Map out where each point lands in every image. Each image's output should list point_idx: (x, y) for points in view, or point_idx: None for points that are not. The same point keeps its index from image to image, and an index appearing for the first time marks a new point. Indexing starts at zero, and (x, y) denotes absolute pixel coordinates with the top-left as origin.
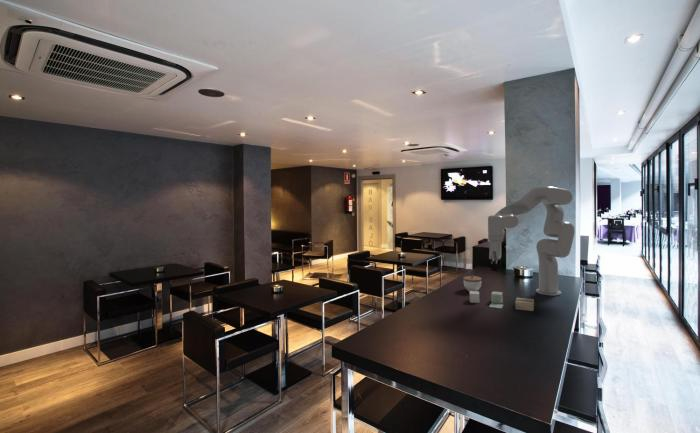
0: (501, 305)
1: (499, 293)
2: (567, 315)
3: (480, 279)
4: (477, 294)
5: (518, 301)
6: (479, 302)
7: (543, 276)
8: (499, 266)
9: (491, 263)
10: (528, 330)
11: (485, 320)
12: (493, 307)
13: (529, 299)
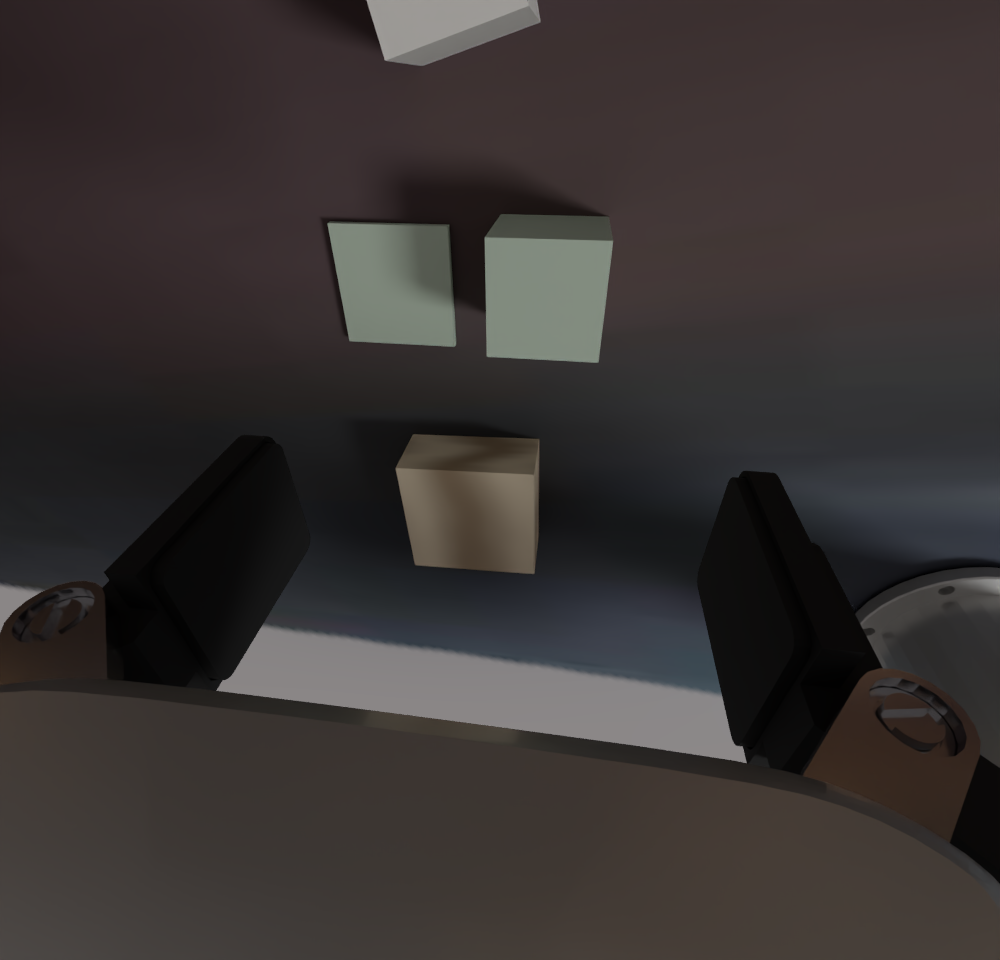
0: (422, 333)
1: (536, 335)
2: (445, 646)
3: None
4: (376, 24)
5: (421, 487)
6: (419, 65)
7: (986, 755)
8: (708, 581)
9: (51, 591)
10: (98, 500)
11: (4, 254)
12: (337, 267)
13: (515, 551)
